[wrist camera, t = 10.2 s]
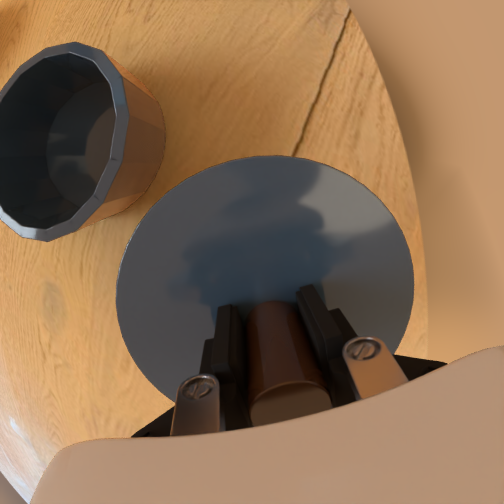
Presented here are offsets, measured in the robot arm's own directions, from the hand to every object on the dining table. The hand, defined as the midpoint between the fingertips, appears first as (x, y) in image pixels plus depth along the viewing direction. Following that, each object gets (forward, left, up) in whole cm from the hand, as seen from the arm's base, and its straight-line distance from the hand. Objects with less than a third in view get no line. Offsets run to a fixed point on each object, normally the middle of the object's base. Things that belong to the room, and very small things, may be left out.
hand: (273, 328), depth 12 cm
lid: (0, 0, -1) cm, 1 cm away
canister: (+11, -12, -13) cm, 21 cm away
